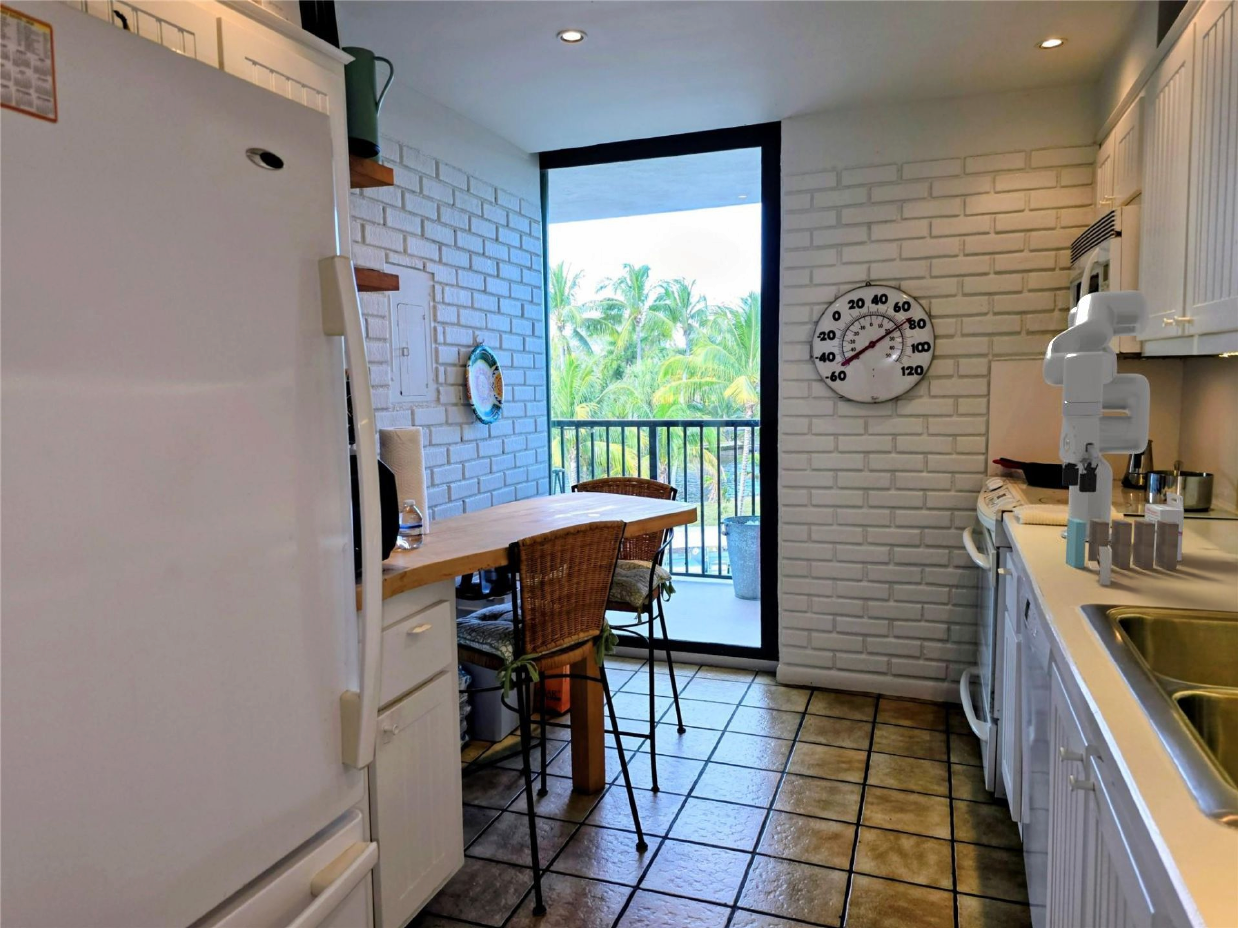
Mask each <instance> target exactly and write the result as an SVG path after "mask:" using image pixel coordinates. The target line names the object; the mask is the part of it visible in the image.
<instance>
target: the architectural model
mask: <svg viewBox="0 0 1238 928" xmlns="http://www.w3.org/2000/svg"><path fill="white" fill-rule="evenodd" d="M1099 550H1100V560H1099V556H1097V557H1098V558H1097V561H1088V560H1087V564H1088V565H1089V569H1090V570H1096V571H1098V583H1099V585H1103V586H1111V583H1112V582H1111V581H1112V580H1111V577H1112V565H1111V563H1112V549H1111V545H1109V544H1108V547H1099Z"/></svg>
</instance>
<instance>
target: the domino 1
mask: <svg viewBox="0 0 1238 928" xmlns="http://www.w3.org/2000/svg"><path fill="white" fill-rule="evenodd" d="M1066 530H1067V538H1066V550H1065V552H1066V553H1065V564H1066V565H1068V566H1070V567H1072V568H1074V569H1085V562H1086V561H1085V559H1086V542H1087V541H1086V522H1084V521H1082V520H1079V519H1068V518H1067V527H1066Z"/></svg>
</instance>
